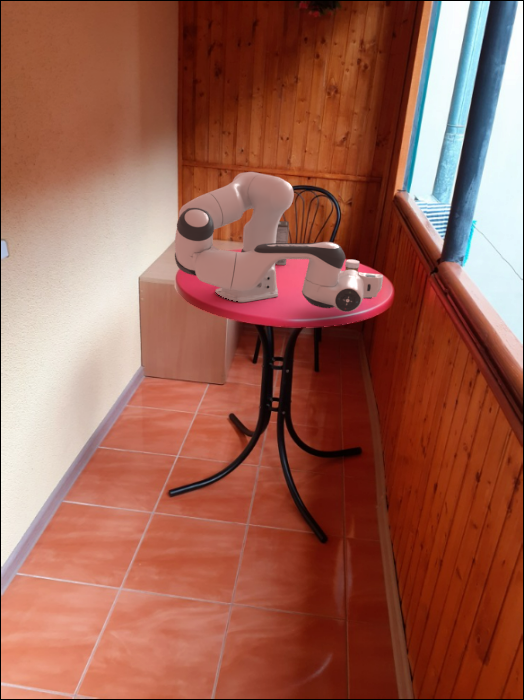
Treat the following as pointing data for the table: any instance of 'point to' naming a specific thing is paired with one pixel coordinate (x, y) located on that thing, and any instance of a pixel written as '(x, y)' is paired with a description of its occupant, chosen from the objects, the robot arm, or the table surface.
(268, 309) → the table surface
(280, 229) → the coffee box
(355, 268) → the sprinkles bottle
